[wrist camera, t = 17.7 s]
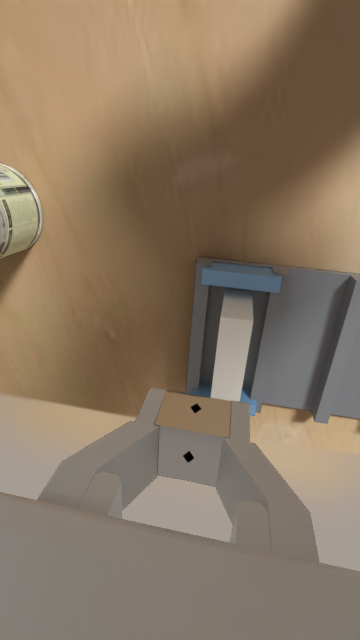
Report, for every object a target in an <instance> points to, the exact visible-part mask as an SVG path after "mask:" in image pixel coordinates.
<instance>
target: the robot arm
mask: <svg viewBox="0 0 360 640" xmlns="http://www.w3.org/2000/svg"><path fill="white" fill-rule="evenodd" d="M157 475H158V476H163V477H169V478H175V479H181V480H186V481H191V482H196V483H200V484H204V485H208V486H213V487H216V490H217V492H218V495H219V496H220V499H221V501H222V503H223V505H224V508H225V509H226V512H227V514H228V516H229V518H230V520H231V523H232V525H233V528H232V533H231V538H230V543H228V542H224V541H219V540H215V539H210V538H206V537H201V536H197V535H192V534H188V533H183V532H178V531H174V530H169V529H165V528H160V527H156V526H151V525H147V524H142V523H137V522H133V521H128V520H124V519H122V510H123V509H124V508H126V507H127V505H128V504H130V503H131V502H132V501H133V500H134V499H135V498H136V497H137V496H138V495H139V494H140V493H141V492H142V491H143V490H144V489H145V488H146V487H147V486H148V485H149V484H150V483H151V482H152V481H153V480H154V479H156V478H157ZM0 640H360V571H355V570H351V569H346V568H342V567H337V566H332V565H328V564H324V563H319V557H318V552H317V546H316V541H315V536H314V531H313V525H312V519H311V515H310V512H309V510H308V509H307V508H306V506H305V505H304V504H303V503H302V501H301V500H300V499H299V498H298V496H297V495H296V494H295V493H294V491H293V490H292V489H291V488H290V486H289V485H288V484H287V483H286V481H285V480H284V479H283V478H282V476H281V475H280V474H279V473H278V471H277V470H276V469H275V468H274V466H273V465H272V464H271V462H270V461H269V460H268V459H267V458H266V456H265V455H264V454H263V452H262V451H261V450H260V449H259V447H258V446H257V445H256V444H255V443H251V442H250V412H249V403H248V402H241V401H233V400H232V401H229V400H223V399H217V398H210V397H204V396H199V395H194V394H188V393H183V392H177V391H172V390H166V389H160V388H154V387H151V388H150V389H149V391H148V393H147V395H146V398H145V400H144V402H143V404H142V407H141V409H140V411H139V413H138V416H137V418H136V420H135V422H134V421H129V422H127V423H126V424H124V425H123V426H121V427H119V428H117V429H116V430H114V431H112V432H111V433H109V434H107V435H106V436H104V437H102V438H100V439H99V440H97V441H95V442H94V443H92V444H90V445H88V446H87V447H85V448H84V449H82V450H80V451H78V452H77V453H75V454H73V455H72V456H70V457H68V458H67V459H65V460H63V461H61V463H60V464H59V466H58V468H57V469H56V471H55V472H54V474H53V476H52V477H51V479H50V480H49V482H48V483H47V485H46V486H45V488H44V490H43V491H42V493H41V494H40V496H39V497H38V499H37V500H33V499H29V498H24V497H20V496H15V495H11V494H6V493H1V492H0Z"/></svg>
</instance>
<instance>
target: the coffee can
mask: <svg viewBox="0 0 360 640" xmlns="http://www.w3.org/2000/svg"><path fill="white" fill-rule="evenodd" d="M42 225H43V212H42V207H41V204H40V200H39V198H38V195H37V193H36V191H35V190H34V188H33V186H32V185H31V184H30V182H29V181H28V180H27V179H26V178H25V177H24V176H23V175H22V174H21V173H19V172H18V171H17V170H15V169H13V168H12V167H10V166H7V165H5V164H1V163H0V259H1V258H3V257H6V256H8V255H11V254H13V253H16V252H20V251H23V250H26V249H28V248H29V247H31V246H32V245H33V244H34V243H35V242H36V241H37V239H38V237H39V235H40V233H41V230H42Z"/></svg>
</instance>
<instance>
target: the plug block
mask: <svg viewBox="0 0 360 640" xmlns="http://www.w3.org/2000/svg"><path fill="white" fill-rule="evenodd" d="M252 327H253V300H252V292H251V291H243V290H234V289H225V293H224V299H223V305H222V311H221V316H220V324H219V333H218V341H217V349H216V357H215V365H214V373H213V381H212V389H211V398H217V399H223V400H229V401H232V400H233V401H240V397H241V391H242V385H243V380H244V374H245V368H246V362H247V356H248V350H249V344H250V338H251V333H252Z"/></svg>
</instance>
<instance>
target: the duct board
mask: <svg viewBox="0 0 360 640" xmlns="http://www.w3.org/2000/svg"><path fill="white" fill-rule="evenodd" d="M225 289H234V290H243V291H251V292H252V300H253V327H252V333H251V338H250V344H249V350H248V356H247V362H246V368H245V374H244V380H243V385H242V391H241V397H240V401H241V402H248V403H249V412H250V415H252V416H255V412H258V413H260V412H261V407H262V403H264V404H271V405H277V406H283V407H289V408H296V409H302V410H308V411H312V414H313V418H314V422H319V423H325V424H327V423H328V420H329V417H330V414H333V415H339V416H346V417H352V418H358V419H360V274H357V273H347V272H338V271H328V270H318V269H309V268H299V267H290V266H280V265H270V264H261V263H251V262H242V261H232V260H222V259H213V258H203V257H198V258H197V262H196V275H195V287H194V299H193V311H192V323H191V335H190V347H189V359H188V372H187V384H186V393H188V394H194V395H199V396H204V397H210V398H211V389H212V381H213V373H214V365H215V357H216V349H217V341H218V333H219V324H220V316H221V311H222V305H223V299H224V293H225Z"/></svg>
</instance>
